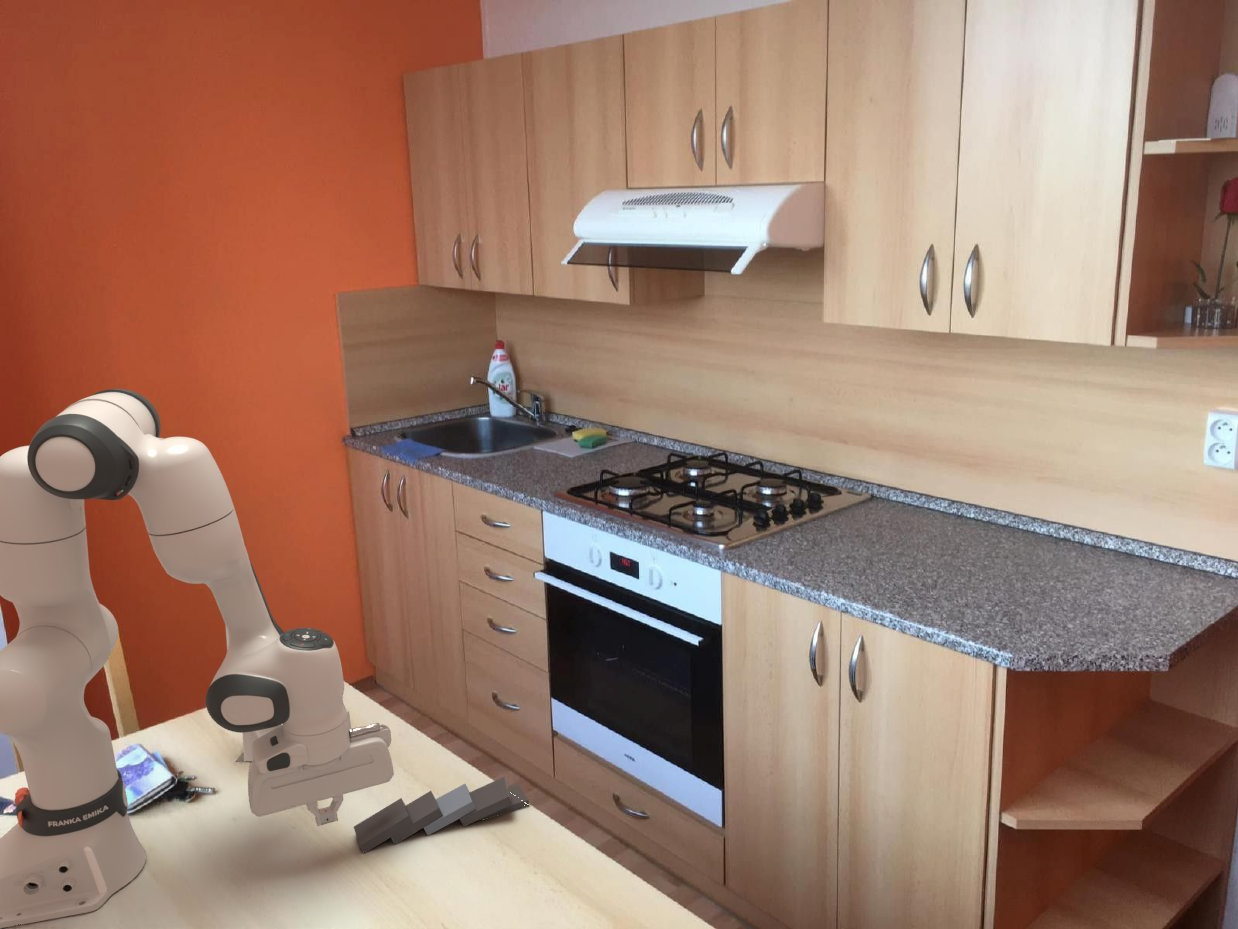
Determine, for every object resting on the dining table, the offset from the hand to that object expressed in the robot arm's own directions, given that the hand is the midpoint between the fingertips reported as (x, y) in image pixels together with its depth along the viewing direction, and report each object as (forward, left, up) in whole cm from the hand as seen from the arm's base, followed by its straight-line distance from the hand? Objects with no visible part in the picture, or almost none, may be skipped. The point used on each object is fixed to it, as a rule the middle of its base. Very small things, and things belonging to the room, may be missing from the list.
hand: (326, 821), depth 151 cm
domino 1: (+4, 0, -5) cm, 6 cm away
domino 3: (+14, -1, -4) cm, 15 cm away
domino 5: (+22, -1, -5) cm, 23 cm away
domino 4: (+20, -1, -4) cm, 20 cm away
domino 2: (+9, 0, -5) cm, 10 cm away
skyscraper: (-5, +33, -6) cm, 34 cm away
